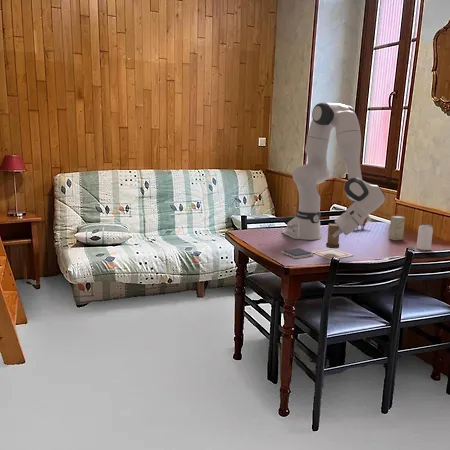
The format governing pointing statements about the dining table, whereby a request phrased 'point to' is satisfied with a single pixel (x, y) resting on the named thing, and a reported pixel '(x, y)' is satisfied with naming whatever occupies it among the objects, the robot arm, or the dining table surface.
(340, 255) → the marked board
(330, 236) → the stamp
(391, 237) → the skincare box
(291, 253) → the ink pad
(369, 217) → the bull figurine
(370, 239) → the dining table surface
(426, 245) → the can
